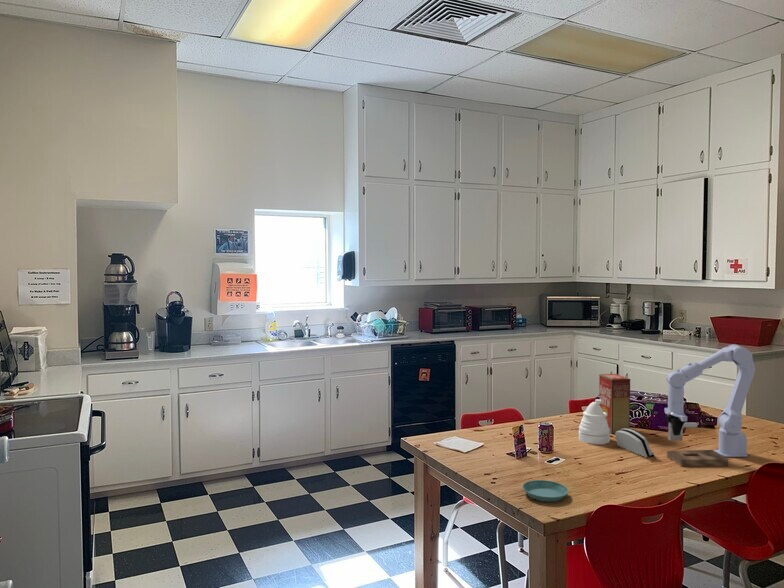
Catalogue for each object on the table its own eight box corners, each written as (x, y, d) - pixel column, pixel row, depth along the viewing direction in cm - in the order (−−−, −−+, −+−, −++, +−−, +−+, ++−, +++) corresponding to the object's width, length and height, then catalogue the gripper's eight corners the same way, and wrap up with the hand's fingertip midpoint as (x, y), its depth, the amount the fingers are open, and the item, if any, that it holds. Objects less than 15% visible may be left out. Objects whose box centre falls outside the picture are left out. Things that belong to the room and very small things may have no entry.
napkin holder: (655, 456, 233) (649, 434, 232) (646, 461, 232) (639, 439, 231) (627, 444, 249) (620, 423, 248) (618, 449, 248) (611, 427, 247)
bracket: (694, 439, 242) (694, 422, 241) (696, 440, 240) (697, 423, 239) (667, 439, 241) (668, 422, 241) (670, 440, 239) (670, 423, 239)
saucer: (542, 508, 185) (542, 499, 185) (513, 491, 198) (513, 484, 198) (577, 500, 191) (577, 492, 191) (547, 484, 205) (547, 477, 205)
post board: (711, 456, 234) (711, 450, 233) (728, 465, 223) (728, 459, 222) (666, 456, 233) (667, 450, 233) (681, 466, 222) (681, 459, 222)
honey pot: (615, 441, 254) (616, 399, 253) (597, 446, 247) (597, 404, 246) (590, 433, 265) (591, 394, 264) (572, 438, 258) (572, 398, 257)
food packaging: (597, 426, 277) (598, 373, 276) (616, 425, 278) (617, 373, 277) (611, 434, 264) (612, 379, 263) (631, 433, 265) (632, 378, 264)
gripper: (657, 397, 247) (657, 429, 247) (675, 405, 232) (674, 439, 233) (674, 397, 247) (673, 429, 248) (692, 405, 232) (692, 439, 233)
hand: (675, 434), depth 240 cm, fingers closed on bracket, 2 cm apart
